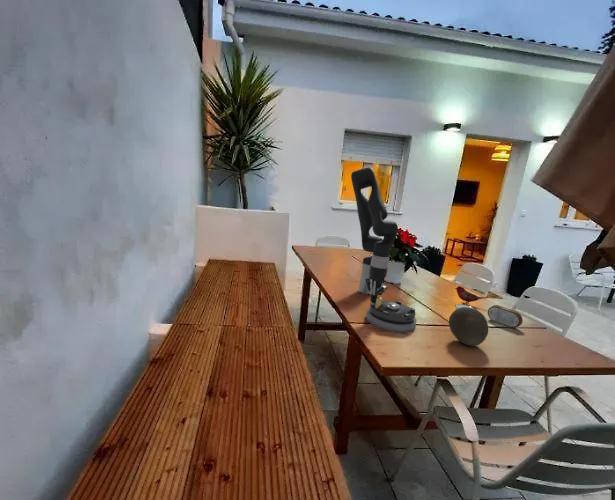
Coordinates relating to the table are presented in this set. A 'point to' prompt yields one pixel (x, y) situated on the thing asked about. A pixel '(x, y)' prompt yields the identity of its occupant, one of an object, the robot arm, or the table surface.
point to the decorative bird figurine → (467, 295)
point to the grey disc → (392, 311)
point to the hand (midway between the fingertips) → (373, 302)
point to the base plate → (390, 324)
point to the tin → (505, 316)
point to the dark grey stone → (468, 326)
